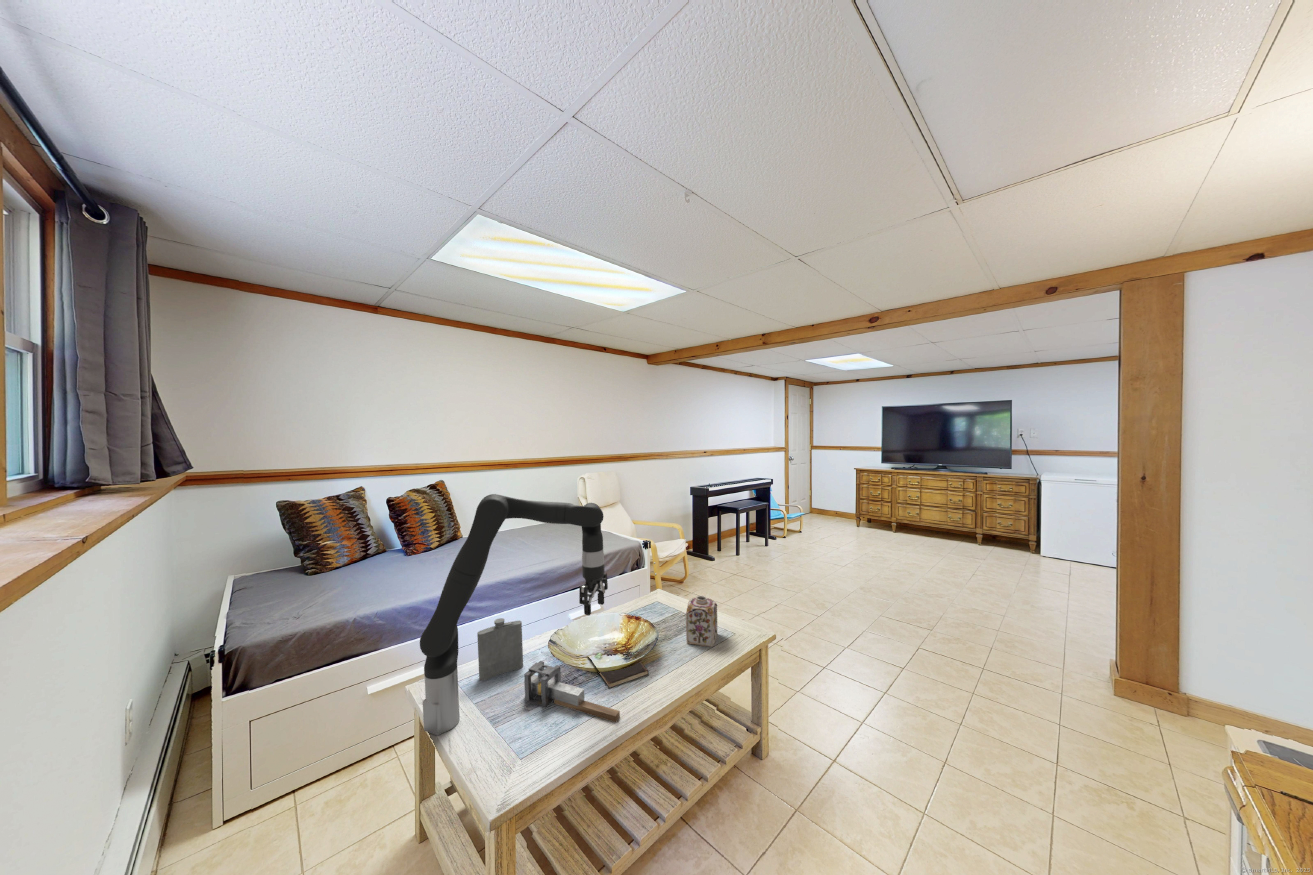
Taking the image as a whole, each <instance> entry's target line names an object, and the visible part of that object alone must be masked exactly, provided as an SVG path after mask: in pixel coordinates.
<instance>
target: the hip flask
mask: <svg viewBox="0 0 1313 875" xmlns="http://www.w3.org/2000/svg"><path fill="white" fill-rule="evenodd" d="M493 623H494V625H493V626H490V627H487V628H485V629H481V630H479V631H477V633H476V634H477V635H476V637H477V658H478V677H479V678H478V679H479V681H481V682H484V681H487V680H489V679H492V678H494V677H496V676H499V675H501V674H505V673H508V672H512V671H517V670H520V669H522V668H523V667H524V651H523V650H524V649H523V646H524V645H523V627H522V626H523V624H522V623H523V622H522V620H515V621H508V622H505V618H501V617H499V618H497V619H495V620H494V622H493Z"/></svg>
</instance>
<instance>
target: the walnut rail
mask: <svg viewBox="0 0 1313 875" xmlns="http://www.w3.org/2000/svg"><path fill="white" fill-rule="evenodd" d="M553 703H554V705H557V706H559V707H561V706H562V707H564V708H566V709H567V708H568V709H570V710H575V711H577V712H581V713H583V714H587V715H591V716H593V717H597V718H600V719H603V720H606V721H610V722H613V723H617V721H619V719H620V716H621V715H620V710H619V709H614V708H611V707H608V706H605V705H601V704H597V703H594V702H592V701H591V702H590V701H588V700H587V701H586V700H584V701H583V702H582V703H581V704H580V705H579V706H575V705H572V704H569V703H565V702H562V701H559V700H555V699H554V701H553Z"/></svg>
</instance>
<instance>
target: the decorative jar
mask: <svg viewBox="0 0 1313 875" xmlns="http://www.w3.org/2000/svg"><path fill="white" fill-rule="evenodd" d="M686 606H687V607H686V611H685V622H686V623H685V625H686V626H685V628H686V629H685V633H686V634H685V636H686V637H685V638H686V644H688V645H696V646H703V647H710V648H713V647H714V646H715V642H716V639H717V636H718V604H717V602H715V601H714V600H713V599H711V598H710V597H706V596H705V595H698V596H696V597H694V598H690V599H689V601H688V603H687V605H686Z"/></svg>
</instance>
